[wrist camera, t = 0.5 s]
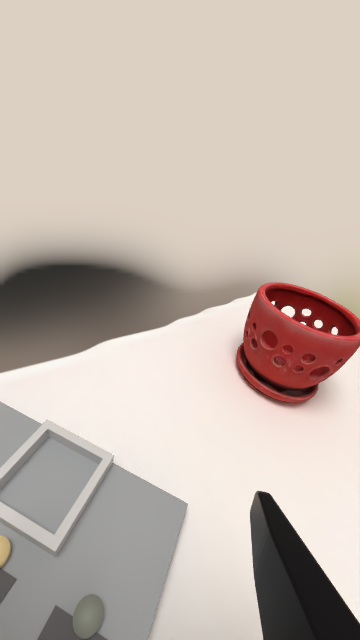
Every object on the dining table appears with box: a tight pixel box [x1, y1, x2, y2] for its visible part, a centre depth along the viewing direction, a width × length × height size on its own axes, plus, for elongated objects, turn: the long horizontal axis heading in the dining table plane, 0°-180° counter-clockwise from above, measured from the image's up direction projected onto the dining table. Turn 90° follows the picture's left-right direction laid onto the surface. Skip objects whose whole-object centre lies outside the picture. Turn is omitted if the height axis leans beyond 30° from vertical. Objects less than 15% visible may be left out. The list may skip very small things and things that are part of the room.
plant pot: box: [237, 283, 360, 403], centre depth 35 cm, size 13×13×12 cm
